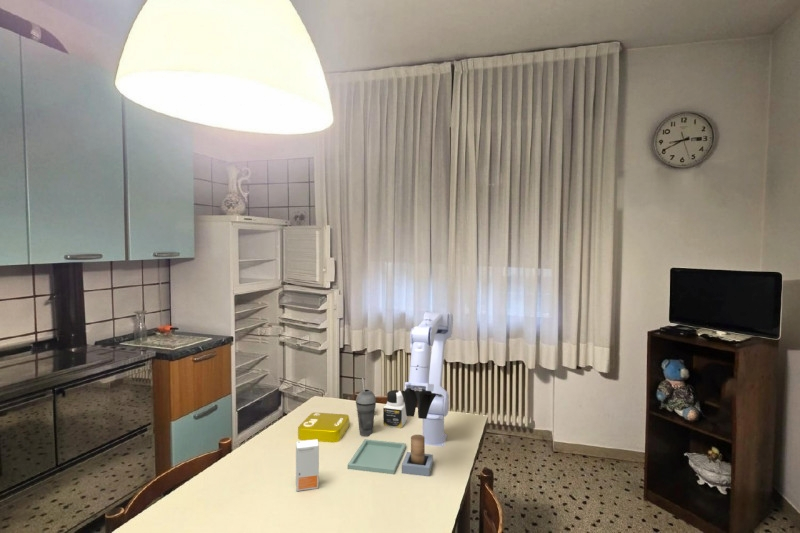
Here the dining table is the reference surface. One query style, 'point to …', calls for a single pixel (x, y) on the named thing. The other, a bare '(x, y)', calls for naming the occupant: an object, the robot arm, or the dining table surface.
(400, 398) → the medicine bottle
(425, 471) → the grey square recessed block
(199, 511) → the dining table surface
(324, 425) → the element tile
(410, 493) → the dining table surface
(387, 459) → the tray
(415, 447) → the dowel
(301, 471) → the skincare box
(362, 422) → the beverage cup
